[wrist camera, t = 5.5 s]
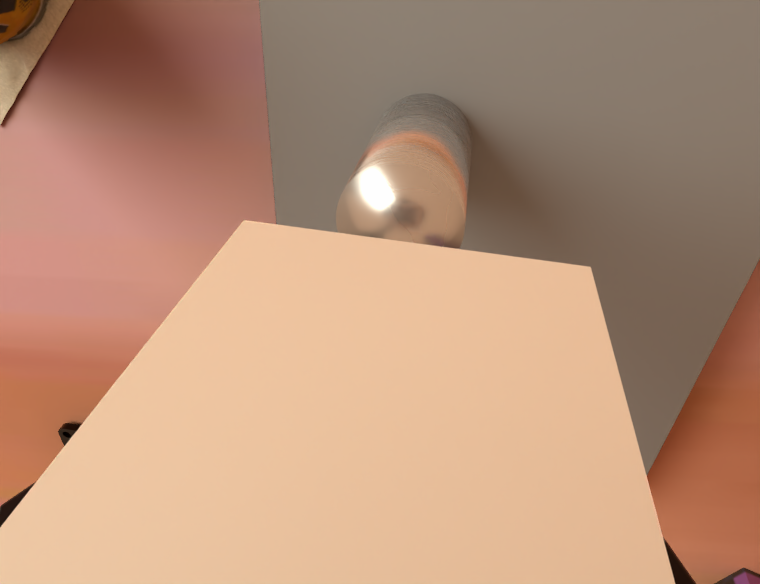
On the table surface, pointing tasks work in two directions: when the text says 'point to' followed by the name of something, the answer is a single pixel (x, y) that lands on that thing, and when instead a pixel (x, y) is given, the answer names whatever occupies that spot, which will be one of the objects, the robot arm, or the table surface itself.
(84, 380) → the table surface
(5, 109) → the condiment
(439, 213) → the post
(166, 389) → the cream colored cube
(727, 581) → the cereal box
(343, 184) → the base plate
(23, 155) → the table surface
